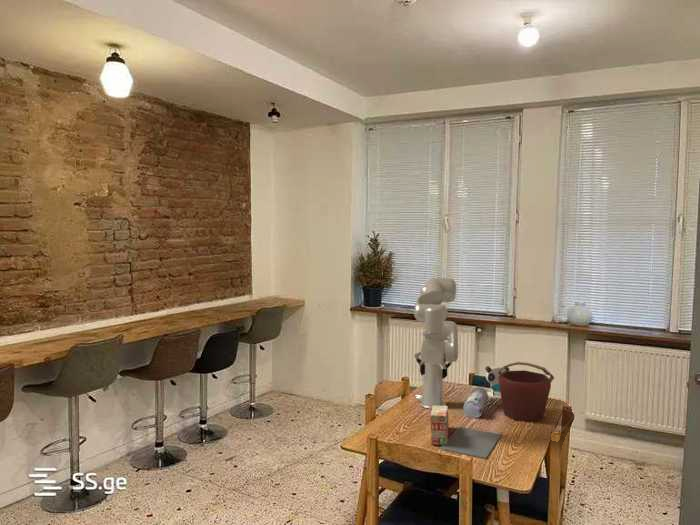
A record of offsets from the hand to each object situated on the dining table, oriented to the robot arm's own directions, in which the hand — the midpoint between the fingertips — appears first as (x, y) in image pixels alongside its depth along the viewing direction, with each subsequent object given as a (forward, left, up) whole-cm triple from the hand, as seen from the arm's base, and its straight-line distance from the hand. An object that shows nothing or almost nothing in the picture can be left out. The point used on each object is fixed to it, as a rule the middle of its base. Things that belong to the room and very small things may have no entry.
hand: (433, 376), depth 221 cm
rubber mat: (+18, -3, -24) cm, 30 cm away
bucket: (+31, +38, -25) cm, 55 cm away
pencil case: (+9, +34, -25) cm, 43 cm away
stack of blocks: (+4, -3, -24) cm, 25 cm away
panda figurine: (+13, +64, -25) cm, 70 cm away
